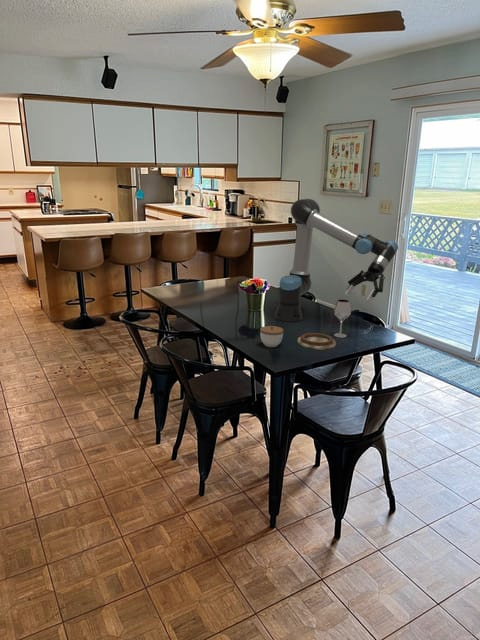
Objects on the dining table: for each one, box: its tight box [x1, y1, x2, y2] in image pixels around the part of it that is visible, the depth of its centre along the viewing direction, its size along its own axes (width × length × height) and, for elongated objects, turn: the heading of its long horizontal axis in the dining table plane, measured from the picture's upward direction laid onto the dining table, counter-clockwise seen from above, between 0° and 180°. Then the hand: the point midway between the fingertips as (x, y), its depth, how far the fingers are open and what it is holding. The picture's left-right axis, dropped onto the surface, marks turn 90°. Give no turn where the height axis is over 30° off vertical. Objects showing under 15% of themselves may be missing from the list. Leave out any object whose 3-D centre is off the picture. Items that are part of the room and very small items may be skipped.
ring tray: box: [297, 332, 337, 351], centre depth 227 cm, size 18×18×3 cm
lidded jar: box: [259, 325, 284, 348], centre depth 222 cm, size 11×11×9 cm
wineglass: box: [333, 299, 352, 339], centre depth 237 cm, size 8×8×18 cm
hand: (356, 298), depth 241 cm, fingers open, 13 cm apart
